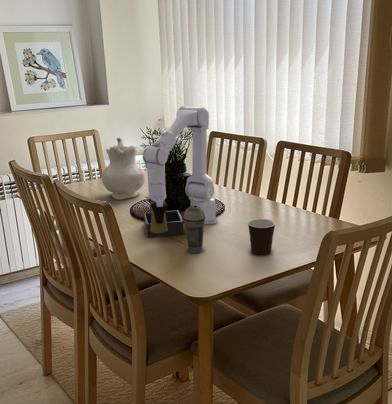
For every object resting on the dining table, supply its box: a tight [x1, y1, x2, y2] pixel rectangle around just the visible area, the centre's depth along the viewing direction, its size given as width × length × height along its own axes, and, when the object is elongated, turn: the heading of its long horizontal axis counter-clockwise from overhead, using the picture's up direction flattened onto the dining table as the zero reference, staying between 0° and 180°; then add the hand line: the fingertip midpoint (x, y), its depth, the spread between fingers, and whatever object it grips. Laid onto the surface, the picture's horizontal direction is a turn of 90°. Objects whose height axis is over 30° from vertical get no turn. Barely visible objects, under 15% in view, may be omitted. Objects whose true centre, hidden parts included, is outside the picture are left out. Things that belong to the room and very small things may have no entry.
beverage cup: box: [182, 192, 205, 254], centre depth 180 cm, size 7×7×20 cm
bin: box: [143, 209, 185, 238], centre depth 202 cm, size 13×13×5 cm
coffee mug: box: [248, 218, 276, 257], centre depth 180 cm, size 12×9×10 cm
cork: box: [149, 200, 168, 233], centre depth 186 cm, size 6×6×11 cm
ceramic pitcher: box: [101, 136, 146, 201], centre depth 244 cm, size 22×20×25 cm
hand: (158, 220), depth 187 cm, fingers closed on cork, 5 cm apart
